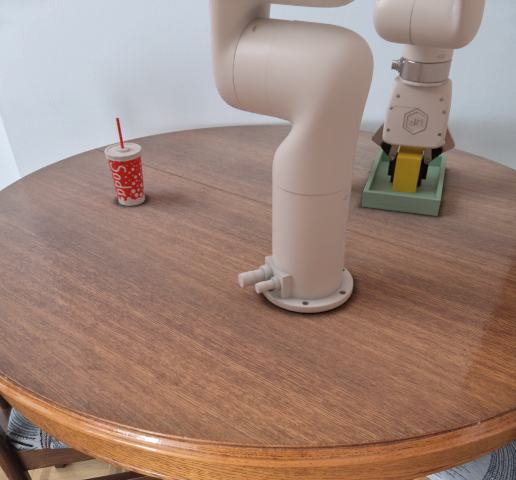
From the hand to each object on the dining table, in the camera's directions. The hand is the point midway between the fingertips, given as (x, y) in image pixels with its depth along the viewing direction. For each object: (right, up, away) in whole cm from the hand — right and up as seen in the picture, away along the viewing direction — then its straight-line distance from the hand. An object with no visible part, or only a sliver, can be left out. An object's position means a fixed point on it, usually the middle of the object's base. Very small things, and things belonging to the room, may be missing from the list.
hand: (406, 180), depth 97 cm
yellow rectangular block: (0, -1, 0) cm, 1 cm away
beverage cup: (-49, -4, -1) cm, 49 cm away
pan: (0, -1, +1) cm, 1 cm away
